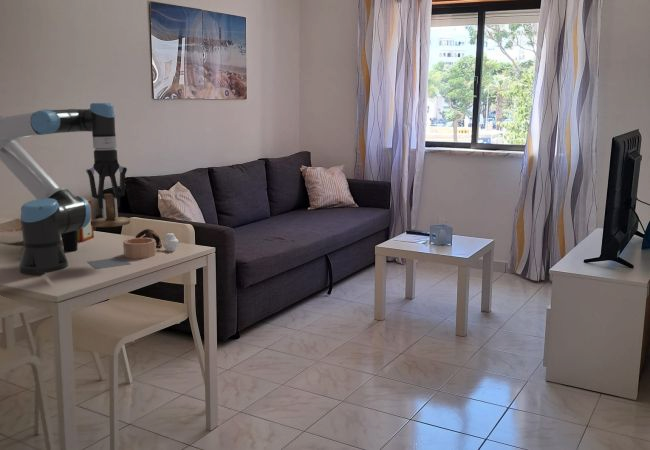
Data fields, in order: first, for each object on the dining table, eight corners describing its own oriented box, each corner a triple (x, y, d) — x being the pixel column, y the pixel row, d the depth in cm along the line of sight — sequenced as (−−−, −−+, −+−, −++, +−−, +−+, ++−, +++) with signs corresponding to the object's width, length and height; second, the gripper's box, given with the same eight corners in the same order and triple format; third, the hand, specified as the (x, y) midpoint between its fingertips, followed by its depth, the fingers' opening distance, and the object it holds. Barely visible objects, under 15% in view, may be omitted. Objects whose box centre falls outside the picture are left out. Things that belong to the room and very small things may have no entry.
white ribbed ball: (162, 249, 255) (161, 231, 254) (178, 248, 257) (177, 230, 256) (162, 252, 249) (161, 234, 248) (179, 251, 251) (178, 233, 250)
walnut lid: (95, 228, 220) (93, 198, 218) (87, 222, 231) (84, 193, 229) (134, 224, 227) (132, 194, 225) (124, 219, 238) (122, 190, 236)
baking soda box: (82, 242, 267) (79, 203, 264) (67, 241, 268) (64, 202, 265) (93, 237, 276) (91, 199, 273) (79, 236, 277) (76, 199, 274)
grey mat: (95, 271, 223) (95, 268, 223) (86, 263, 233) (86, 261, 233) (131, 266, 229) (131, 264, 229) (121, 259, 239) (121, 257, 239)
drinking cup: (56, 250, 254) (52, 198, 250) (76, 247, 259) (72, 196, 255) (64, 253, 248) (60, 200, 244) (84, 250, 253) (80, 198, 249)
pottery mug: (163, 250, 255) (151, 234, 251) (141, 261, 256) (129, 244, 252) (165, 236, 266) (154, 220, 262) (145, 246, 267) (133, 230, 263)
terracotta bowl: (129, 262, 235) (129, 245, 234) (120, 255, 244) (119, 239, 243) (160, 258, 241) (159, 241, 240) (150, 252, 250) (149, 236, 249)
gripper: (82, 151, 217) (88, 221, 221) (132, 148, 225) (136, 216, 229) (77, 149, 223) (83, 218, 228) (126, 147, 232) (131, 213, 236)
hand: (110, 217), depth 229 cm, fingers closed on walnut lid, 3 cm apart
